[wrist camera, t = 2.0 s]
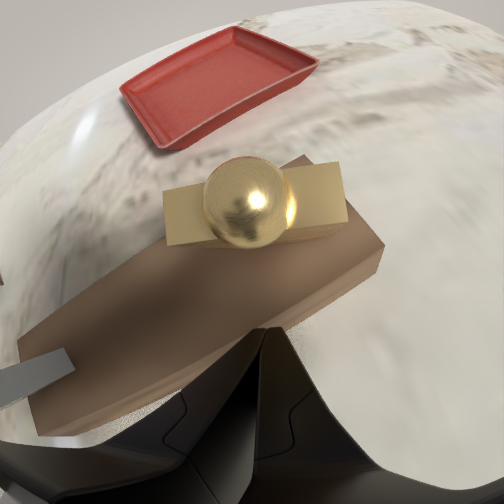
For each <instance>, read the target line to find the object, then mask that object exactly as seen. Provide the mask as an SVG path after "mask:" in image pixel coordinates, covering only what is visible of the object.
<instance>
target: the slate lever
mask: <svg viewBox="0 0 504 504" xmlns="http://www.w3.org/2000/svg"><path fill="white" fill-rule="evenodd" d="M74 370H76V369H75V368H74V366H73V364H72V362H71V361H70V359H69V357H68V355H67V353H66V351H65V350H64V348H60V349H58V350H55V351H52V352H49V353H47V354H44V355H41V356H38V357H35V358H33V359H30V360H27V361H24V362H22V363H19V364H16V365H13V366H10V367H7V368H5V369H2V370H0V410H2V409H4V408H6V407H8V406H10V405H12V404H14V403H16V402H18V401H20V400H22V399H24V398H26V397H28V396H30V395H32V394H34V393H36V392H38V391H39V390H41V389H43V388H45V387H46V386H48V385H50V384H52V383H53V382H55V381H57V380H58V379H60V378H62V377H64V376H65V375H67V374H69V373H71V372H72V371H74Z"/></svg>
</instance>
